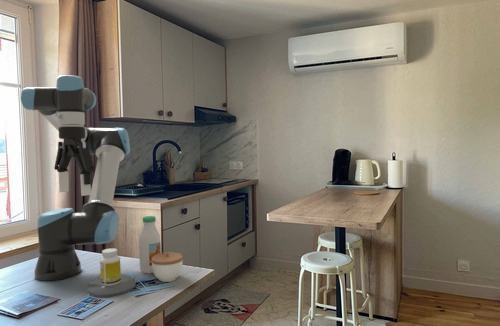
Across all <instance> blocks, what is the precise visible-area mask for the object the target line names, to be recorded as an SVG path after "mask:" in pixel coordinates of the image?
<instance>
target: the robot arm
mask: <svg viewBox="0 0 500 326" xmlns="http://www.w3.org/2000/svg"><path fill="white" fill-rule="evenodd" d="M20 103H21V105H22V107H23V108H24V109H25V110H28V111H38V113H40V114H41V116H43V117H44V118H45V119H46V120H47V121H48V123H50V124H51V125H52V126H53V127H54V129H56V130H57V132H58V138H59V139H61V140H63V141H58V144H57V148H58V149H57V153H56V158H55V163H54V167H53V168H54V170H55V171H57V172H58V187H59V188H58V189H59V190H58V191H59V193H68V192H69V190H70V188H69V169H68V167H69V165H70V162H71V160H72V158H74V160H75V162H76V163H77V166H78V167H79V169H80V173H79V175H80V195H81V197H83V196H89V198H88V202H87V203H85V204H83V206H82V210H81V212H79V211H78V212H75V211H74V209H73V208H72V207H67V208H65V207H64V208H60V209H55V210H50V211H47V212H43V213H41V214H40V215H39V216H38V217H37V235H38V236H37V237H38V252H39V254H38V258H37V261H36V264H35V268H34V278H35V279H36V280H38V281H58V280H62V279H67V278H71V277H73V276H75V275H77V274H79V273H80V272H81V271H82V264H81V260H80V259H79V257H78V254H77V252H76V245H101V244H109V243H111V242H113V241H114V239H115V238H116V236H117V233H118V230H119V223H120V222H119V219H120V218H119V214H118V212H117V211H116V209H115V207H114V206H113V201H114V196H115V190H116V185H117V179H118V174H119V167H120V162H121V161H123V160H124V159H125V156H126V155H129V154H130V152H131V142H130V137H129V133H128V131H127V129H126V128H125V127H85V125H86V122H85V121H86V119H85V117H86V115H85V111H90V110H92V109H94V107H95V106H96V104H97V96H96V94H95V93H94V92H93V91H92V90H90V89H89V88H88V87H85V85H84V80H83V78H82V77H80V76H78V75H71V74H70V75H66V74H65V75H64V74H63V75H58V77H57V78H56V86H52V87H50V86H45V87H44V86H42V87H41V86H40V87H39V86H33V87H32V86H31V87H24V88H23V89H22V90H21V93H20ZM91 155H95V156H96V158H97V162H96V166H95V165H94V162H93V159H92V157H91ZM92 173H94V176H93V181H92V185H91V174H92Z"/></svg>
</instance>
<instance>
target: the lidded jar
mask: <svg viewBox="0 0 500 326" xmlns="http://www.w3.org/2000/svg"><path fill="white" fill-rule="evenodd" d="M183 259H184V256H183V254H182V253H180V252H171V251H170V252H169V251H165V252H161V253H160V254H157V255H154V256H153V257H152V258H151V261H152V269H153V273H152V274H153V276H155V277H156V279H158V281H160V282H163V283H170V282H174V281H175V280H177V278H178V277H179V275H180V274H181V272H182V270H183V263H184V262H183V261H184V260H183Z"/></svg>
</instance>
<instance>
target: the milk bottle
mask: <svg viewBox="0 0 500 326" xmlns="http://www.w3.org/2000/svg"><path fill="white" fill-rule="evenodd" d="M156 221H157V220H156V216H154V215H148V216H144V217H142V224H143V227H142V230H141V233H140V235H139V239H138V245H139V246H138V247H139V248H138V251H139V257H138V258H139V270H140V272H141V273H143V274H151V273H152V274H154V273H153V269H152V261H151V258H152V257H153V256H154V255H157V254H160V253H162V250H161V249H162V248H161V246H162V245H161V244H162V243H161V237H160V236H161V235H160V233H159V231H158V229H157V226H156Z"/></svg>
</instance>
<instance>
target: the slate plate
mask: <svg viewBox="0 0 500 326" xmlns="http://www.w3.org/2000/svg"><path fill="white" fill-rule="evenodd" d="M136 283H137V280H136V277H134V276H132V275H127V274H121V282H120V283H119V284H117V285H114V286H103V285H102V284H101V277H98V278H96V279H93V280H92V281H90V282H89V283H88V284H87V285H86V292H87V294H88V295H89V296H92V297H96V298H107V297H115V296H120V295H123V294H126V293H128V292H130V291H132V290H133V289H134V288H135V287H136V285H137V284H136ZM131 289H132V290H131Z"/></svg>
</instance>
